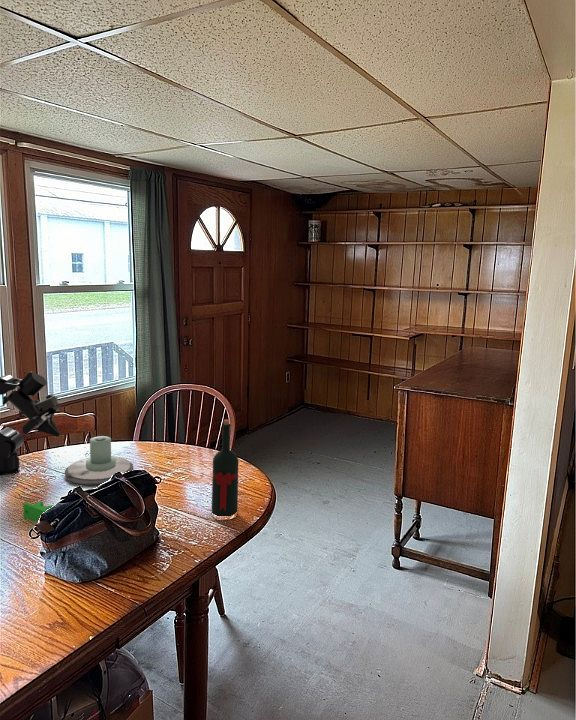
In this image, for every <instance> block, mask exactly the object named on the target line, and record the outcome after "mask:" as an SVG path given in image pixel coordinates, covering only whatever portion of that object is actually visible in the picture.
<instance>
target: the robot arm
mask: <svg viewBox="0 0 576 720" xmlns="http://www.w3.org/2000/svg"><path fill="white" fill-rule="evenodd" d="M47 383H48V381H47V379H46V378H44V376H42V375H41V374H38V373H35V372H34V370H32V371H29V372H28V373H27V374H26V375H25V376H24V378H22V379H21V378H16V377H13V376H12V375H11V374H5V375H2V376H0V396H1V395H3V397H2V399H3V400H2V405H3V406H5V405H7V404H8V403H10V404H12V405H13V407H15V408H16V409H17V410H18V411H19V412H20V413H19V416H21V417H22V416H23V415H24V416H25V417H26V418H27V420H28V421H27V422H26V423H25V424H24V425H23V426H22V427H21V431H22V432H23V433H24V435H28V434H29V433H31V432H32V430H34V431H35V432H36V431H38V432H41V433H45V434H48V435H51V436H54V437H57V438H58V437H60V436H61V432H60V430H59V429H58V426H57V425H56V423H55V421H54V417H55V413H56V412H58V411H59V410H60V407H59V406H58V404H59V402H58V401H57V400H58V397H57V396H56V395H54V394H53V393H50V394H47V395H46V396H45V399H44V400H41V401H40V400H39V399H33V397H34V396H36V395H37V394H38V393H39V392H40V391H41V390H42V389H43V388H45V387H46V386H47ZM16 389H17V390H16ZM7 393H9V394H8V395H6V394H7ZM35 427H36V428H35ZM24 441H25V440H24V437H23V434H22V433H20V432H19V430H16V429H15V430H14V429H13V428H12V427H9V426H6V427H5V428H3V429H0V476H3V475H9V474H14V473H19V472H20V468H21V467H20V457H19V456H18V453H17V452H18V451H19V450H20V447H22V446H23V444H24Z"/></svg>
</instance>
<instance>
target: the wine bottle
mask: <svg viewBox="0 0 576 720" xmlns="http://www.w3.org/2000/svg"><path fill="white" fill-rule="evenodd" d="M221 445H222V447H221V448H222V449H220V450H219V451H217V452H216V454H215V455H214V456H213V458H212V479H211V480H212V484H211V486H212V487H211V488H212V489H211V514H212V513H213V514H215V515H217V516H231V515H233V514H235V513H236V512H237V513H238V510H239V509H238V506H239V504H238V503H239V501H238V498H239V497H238V495H239V458H238V456H237V455H238V454H236V453H235V452H234V451H233V450H231V447H230V446H231V423H230V419H228V418H226V419H223V424H222V441H221Z"/></svg>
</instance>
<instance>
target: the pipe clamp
mask: <svg viewBox="0 0 576 720" xmlns="http://www.w3.org/2000/svg"><path fill="white" fill-rule="evenodd" d="M52 506H54V505H53V504H51V505H46V506H45V505H44V502H43V501H42V500H41V501H39V502H36V503H35V504H32V503H29V502H24V503H22V509H23V512H22V513H23V518H24V517H25V518H24V519H26V518H28V519H27V520H29V519H31V520H33V521H32V522H34V521H36V522H35V523H37V522H38V520H39V518H40V515H41V514H42V513H43V512H45V511H46V510H47V509H49V508H51V507H52ZM31 520H30V521H31Z"/></svg>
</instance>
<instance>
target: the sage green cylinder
mask: <svg viewBox="0 0 576 720" xmlns="http://www.w3.org/2000/svg"><path fill="white" fill-rule="evenodd" d="M89 453H90V455H89V456H90V458H89V457H88V458H89V459H88V460H87V461H86V469H88V470H90V471H106V470H110V469H112V468H114V467H115V466H116V459H115V458H114V457H111V456H112V438H111V437H110V436H106V435H105V436H104V435H101V436H100V435H98V436H94V437H91V438H90V439H89Z"/></svg>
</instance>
